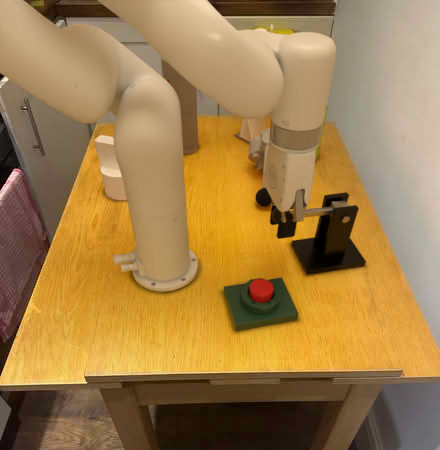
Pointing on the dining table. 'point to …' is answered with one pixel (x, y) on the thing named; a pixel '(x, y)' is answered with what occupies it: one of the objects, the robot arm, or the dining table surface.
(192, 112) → the thermos bottle
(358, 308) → the dining table surface
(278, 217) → the lever
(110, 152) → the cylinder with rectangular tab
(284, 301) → the button box
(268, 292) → the button
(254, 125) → the skyscraper
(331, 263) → the bracket
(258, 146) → the mechanical valve
